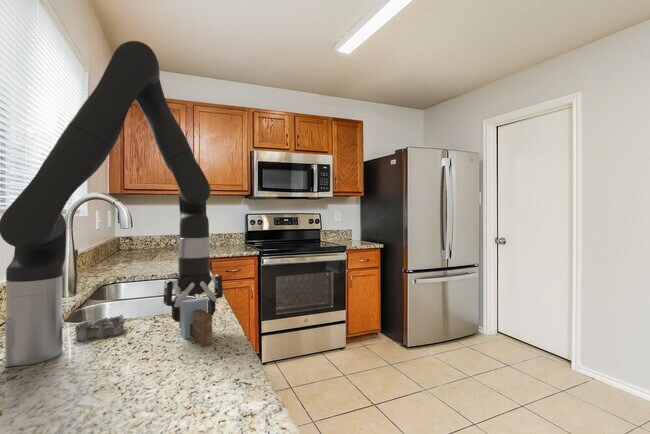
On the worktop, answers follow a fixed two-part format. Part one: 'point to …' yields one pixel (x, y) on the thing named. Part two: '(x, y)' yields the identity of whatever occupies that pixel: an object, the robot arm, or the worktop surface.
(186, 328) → the notched block
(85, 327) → the egg carton
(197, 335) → the slotted plate
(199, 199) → the robot arm
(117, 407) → the worktop surface
